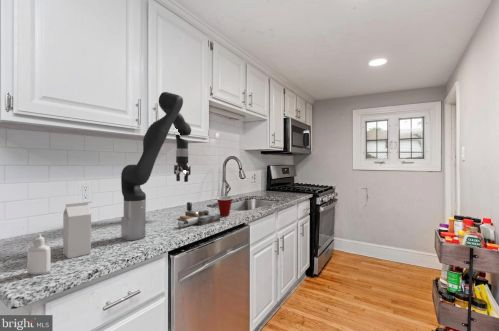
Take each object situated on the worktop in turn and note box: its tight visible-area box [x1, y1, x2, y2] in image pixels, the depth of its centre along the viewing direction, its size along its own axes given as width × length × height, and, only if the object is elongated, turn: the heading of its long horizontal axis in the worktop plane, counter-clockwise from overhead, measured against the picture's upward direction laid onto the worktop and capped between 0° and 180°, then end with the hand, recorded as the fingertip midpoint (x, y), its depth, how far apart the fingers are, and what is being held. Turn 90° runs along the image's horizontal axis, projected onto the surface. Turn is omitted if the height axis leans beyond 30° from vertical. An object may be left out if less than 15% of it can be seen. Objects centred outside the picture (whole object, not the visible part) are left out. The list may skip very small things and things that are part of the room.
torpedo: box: [177, 217, 198, 228], centre depth 139 cm, size 18×5×7 cm, turn 147°
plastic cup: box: [216, 195, 234, 217], centre depth 166 cm, size 11×11×12 cm
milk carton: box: [62, 201, 92, 259], centre depth 94 cm, size 7×7×19 cm
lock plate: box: [179, 209, 221, 226], centre depth 151 cm, size 14×21×6 cm, turn 52°
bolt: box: [186, 201, 199, 216], centre depth 155 cm, size 3×10×7 cm, turn 52°
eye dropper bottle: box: [26, 233, 51, 275], centre depth 78 cm, size 4×6×12 cm
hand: (182, 181), depth 162 cm, fingers open, 7 cm apart
